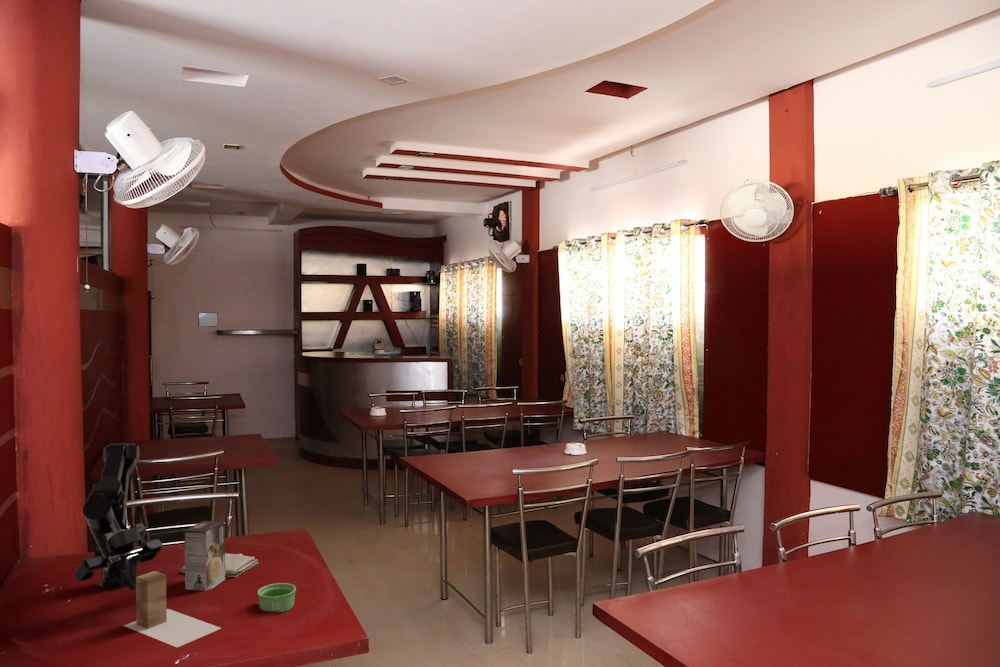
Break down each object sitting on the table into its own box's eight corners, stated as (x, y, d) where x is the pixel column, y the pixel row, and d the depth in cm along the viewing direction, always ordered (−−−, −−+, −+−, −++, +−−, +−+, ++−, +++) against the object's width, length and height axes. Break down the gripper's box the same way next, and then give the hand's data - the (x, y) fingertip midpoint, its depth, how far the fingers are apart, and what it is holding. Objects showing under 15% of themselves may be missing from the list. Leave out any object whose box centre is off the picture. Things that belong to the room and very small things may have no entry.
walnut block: (136, 624, 161) (136, 576, 161) (155, 617, 165) (154, 570, 165) (148, 629, 159) (147, 580, 159) (166, 621, 163) (166, 574, 163)
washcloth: (238, 580, 192) (238, 569, 192) (178, 575, 195) (178, 564, 195) (260, 565, 203) (260, 554, 203) (204, 561, 206) (204, 550, 206)
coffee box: (204, 578, 191) (203, 519, 191) (226, 580, 190) (225, 521, 190) (184, 591, 182) (183, 530, 182) (207, 593, 181) (206, 531, 181)
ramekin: (303, 603, 175) (303, 586, 175) (278, 617, 167) (278, 599, 167) (275, 597, 179) (275, 580, 179) (249, 611, 171) (249, 593, 170)
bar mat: (123, 628, 161) (123, 625, 161) (168, 611, 170) (168, 608, 170) (177, 650, 150) (177, 647, 150) (221, 630, 160) (221, 628, 160)
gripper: (81, 524, 160) (108, 582, 154) (158, 506, 176) (185, 558, 170) (63, 553, 164) (89, 610, 158) (140, 532, 180) (166, 584, 174)
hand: (135, 589), depth 165 cm, fingers closed
